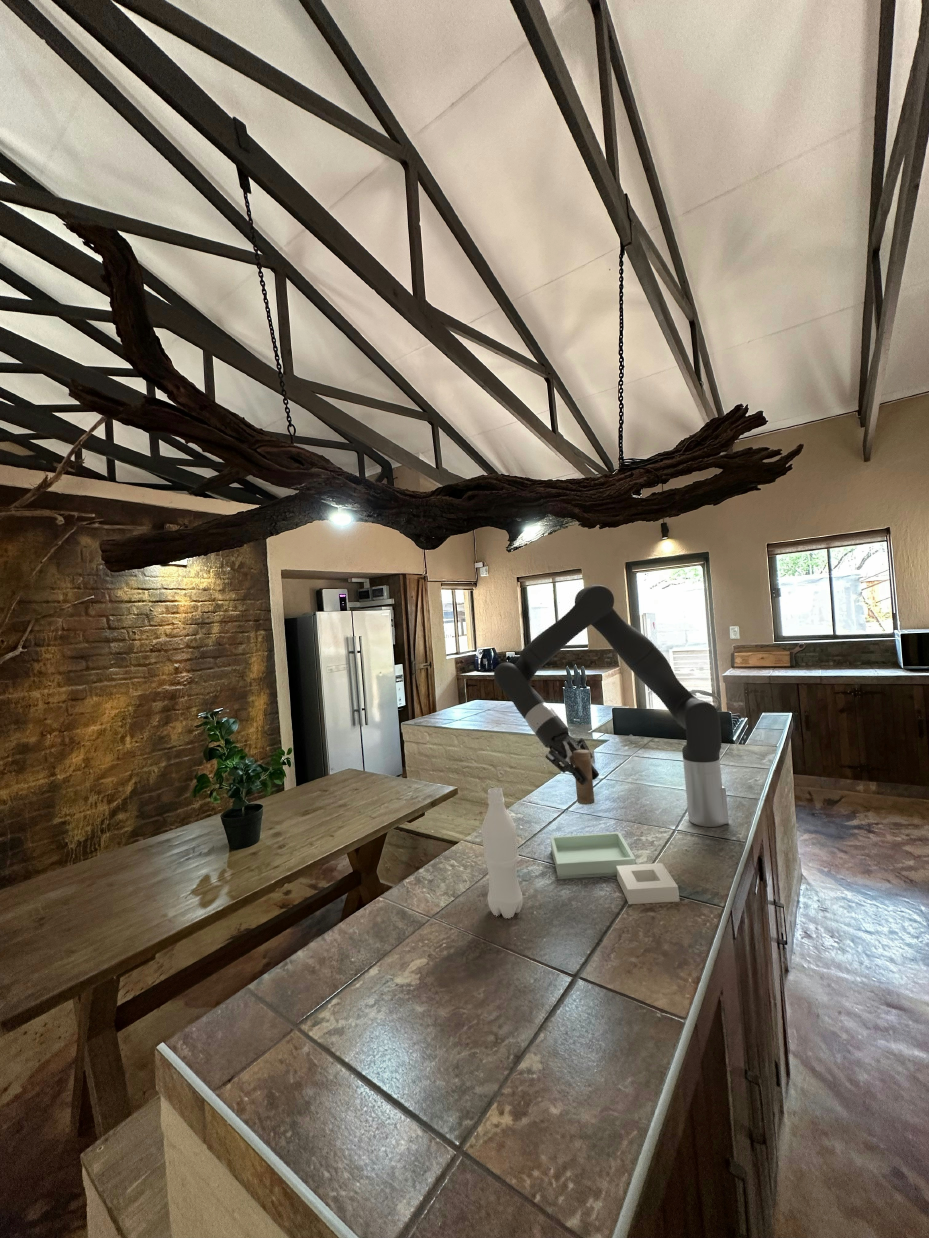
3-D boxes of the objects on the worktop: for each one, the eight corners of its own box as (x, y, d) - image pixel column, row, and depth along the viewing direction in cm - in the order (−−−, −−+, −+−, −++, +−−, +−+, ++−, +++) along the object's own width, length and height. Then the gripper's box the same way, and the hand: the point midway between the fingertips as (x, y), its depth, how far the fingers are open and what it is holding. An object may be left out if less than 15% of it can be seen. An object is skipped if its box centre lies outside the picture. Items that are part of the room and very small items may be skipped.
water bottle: (483, 917, 103) (471, 794, 104) (497, 899, 110) (486, 783, 110) (515, 924, 100) (504, 797, 100) (528, 905, 106) (517, 785, 107)
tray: (620, 845, 130) (619, 832, 130) (637, 874, 115) (635, 858, 115) (551, 850, 131) (550, 836, 131) (558, 879, 116) (557, 863, 116)
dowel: (592, 798, 125) (588, 749, 125) (595, 804, 121) (591, 753, 121) (576, 799, 125) (571, 750, 125) (578, 805, 121) (574, 754, 121)
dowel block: (663, 876, 113) (661, 862, 113) (679, 901, 103) (678, 886, 103) (617, 879, 114) (616, 865, 114) (629, 904, 104) (627, 889, 104)
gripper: (535, 720, 124) (581, 779, 115) (570, 710, 133) (616, 763, 124) (521, 740, 128) (564, 797, 119) (556, 728, 137) (599, 781, 128)
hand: (590, 779), depth 121 cm, fingers closed on dowel, 4 cm apart
